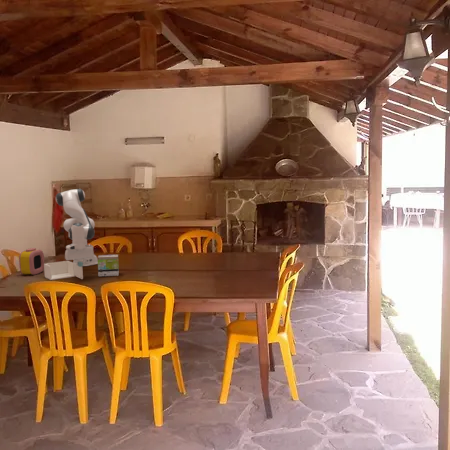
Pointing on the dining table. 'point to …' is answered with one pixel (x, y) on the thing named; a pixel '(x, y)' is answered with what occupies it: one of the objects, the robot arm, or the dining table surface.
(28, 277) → the dining table surface
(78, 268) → the lid flap
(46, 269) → the carton
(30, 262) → the alarm clock
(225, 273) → the dining table surface
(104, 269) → the tea box
